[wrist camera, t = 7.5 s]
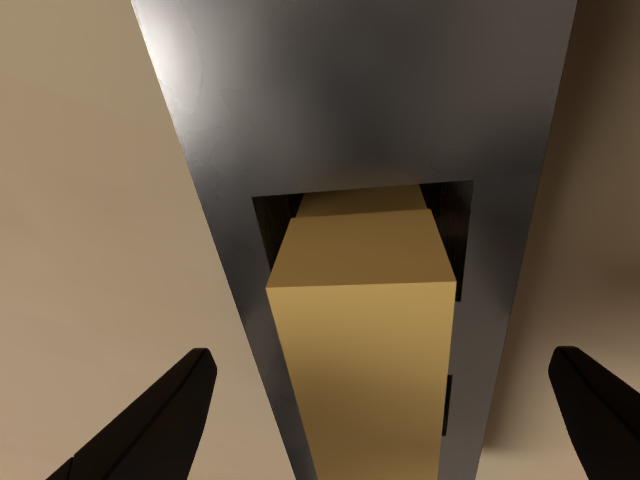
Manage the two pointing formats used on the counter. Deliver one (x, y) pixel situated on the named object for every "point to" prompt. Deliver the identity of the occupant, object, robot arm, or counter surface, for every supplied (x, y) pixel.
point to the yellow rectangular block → (366, 330)
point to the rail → (367, 151)
